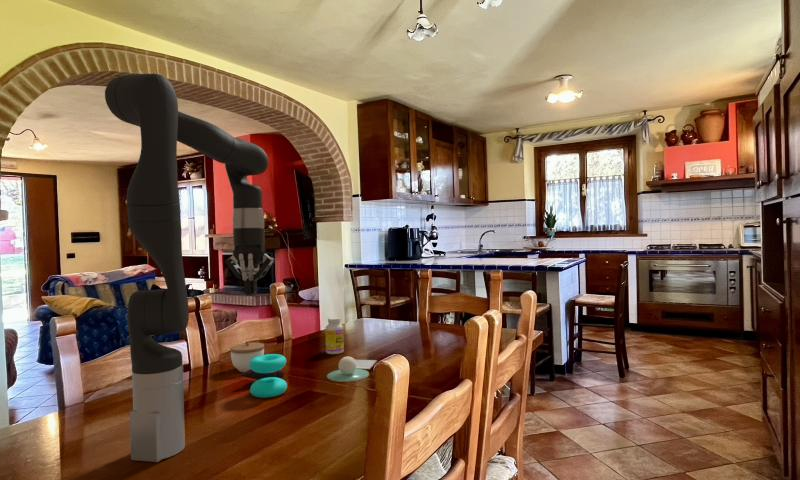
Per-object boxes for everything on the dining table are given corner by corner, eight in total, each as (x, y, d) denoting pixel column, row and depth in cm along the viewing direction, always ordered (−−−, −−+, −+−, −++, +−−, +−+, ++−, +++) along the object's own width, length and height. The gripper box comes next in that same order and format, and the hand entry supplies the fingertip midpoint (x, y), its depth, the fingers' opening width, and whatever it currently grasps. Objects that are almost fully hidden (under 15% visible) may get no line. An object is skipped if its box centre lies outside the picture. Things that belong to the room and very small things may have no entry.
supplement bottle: (336, 355, 168) (335, 320, 168) (322, 353, 172) (321, 319, 172) (347, 351, 174) (346, 317, 174) (333, 349, 177) (332, 316, 177)
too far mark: (369, 369, 150) (369, 368, 150) (339, 368, 152) (339, 367, 152) (376, 360, 160) (376, 360, 160) (348, 360, 161) (348, 359, 161)
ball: (353, 372, 140) (355, 354, 143) (335, 371, 141) (338, 353, 144) (356, 377, 145) (359, 360, 148) (339, 376, 146) (342, 359, 149)
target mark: (362, 382, 136) (362, 382, 136) (320, 381, 139) (320, 380, 139) (373, 369, 149) (373, 369, 149) (335, 368, 151) (335, 368, 151)
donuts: (241, 359, 128) (270, 351, 136) (242, 395, 128) (271, 385, 136) (265, 364, 122) (293, 355, 131) (266, 401, 123) (294, 390, 131)
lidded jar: (236, 376, 146) (235, 346, 146) (226, 368, 155) (226, 341, 155) (269, 369, 152) (268, 341, 152) (258, 363, 161) (257, 336, 161)
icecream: (249, 369, 131) (294, 362, 142) (237, 358, 136) (281, 352, 147) (244, 392, 132) (289, 383, 143) (232, 380, 137) (277, 373, 148)
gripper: (216, 227, 114) (218, 297, 115) (265, 225, 112) (268, 297, 112) (232, 227, 122) (234, 293, 122) (279, 226, 119) (281, 293, 119)
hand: (250, 295), depth 117 cm, fingers closed
